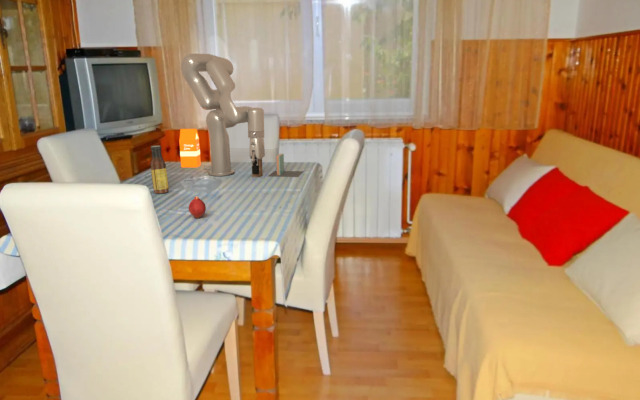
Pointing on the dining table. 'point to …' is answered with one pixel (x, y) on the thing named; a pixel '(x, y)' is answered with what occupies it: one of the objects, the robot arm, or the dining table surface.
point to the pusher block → (259, 169)
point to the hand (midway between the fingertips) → (257, 172)
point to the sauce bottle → (158, 171)
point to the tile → (280, 164)
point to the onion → (197, 207)
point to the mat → (287, 174)
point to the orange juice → (189, 148)
